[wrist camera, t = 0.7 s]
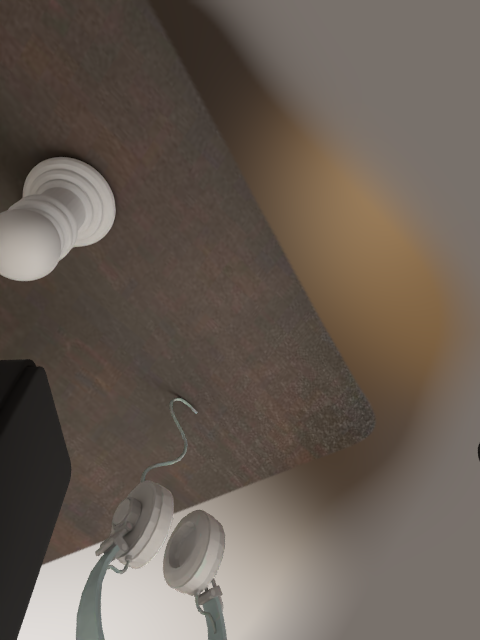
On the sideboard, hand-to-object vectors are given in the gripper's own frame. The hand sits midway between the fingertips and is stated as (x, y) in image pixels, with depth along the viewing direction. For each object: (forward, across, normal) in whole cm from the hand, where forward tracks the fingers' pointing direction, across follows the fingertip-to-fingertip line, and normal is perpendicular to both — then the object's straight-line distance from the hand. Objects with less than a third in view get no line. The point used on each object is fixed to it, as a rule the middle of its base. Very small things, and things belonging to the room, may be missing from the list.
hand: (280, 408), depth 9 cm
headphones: (+20, +4, +17) cm, 27 cm away
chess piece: (+21, +10, +1) cm, 23 cm away
